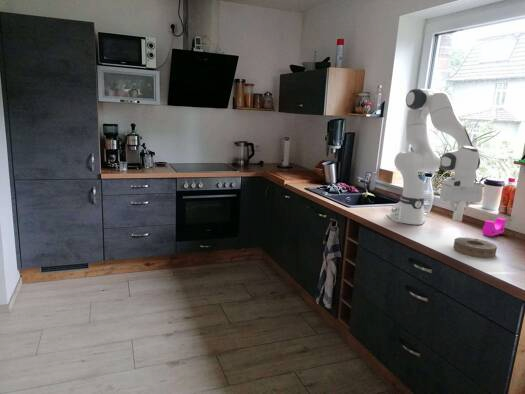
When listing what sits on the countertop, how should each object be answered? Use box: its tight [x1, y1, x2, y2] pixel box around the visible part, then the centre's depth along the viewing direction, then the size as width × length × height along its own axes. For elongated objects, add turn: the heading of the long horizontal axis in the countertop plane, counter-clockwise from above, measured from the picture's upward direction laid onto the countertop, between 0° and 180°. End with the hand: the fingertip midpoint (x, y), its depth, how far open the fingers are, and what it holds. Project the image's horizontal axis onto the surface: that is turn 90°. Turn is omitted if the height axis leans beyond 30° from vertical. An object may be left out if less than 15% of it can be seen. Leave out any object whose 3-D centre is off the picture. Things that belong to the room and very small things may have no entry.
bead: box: [453, 236, 498, 259], centre depth 174 cm, size 16×16×4 cm
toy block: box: [482, 217, 507, 237], centre depth 208 cm, size 15×6×8 cm, turn 126°
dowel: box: [451, 201, 465, 223], centre depth 184 cm, size 4×4×10 cm
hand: (458, 210), depth 184 cm, fingers closed on dowel, 4 cm apart
